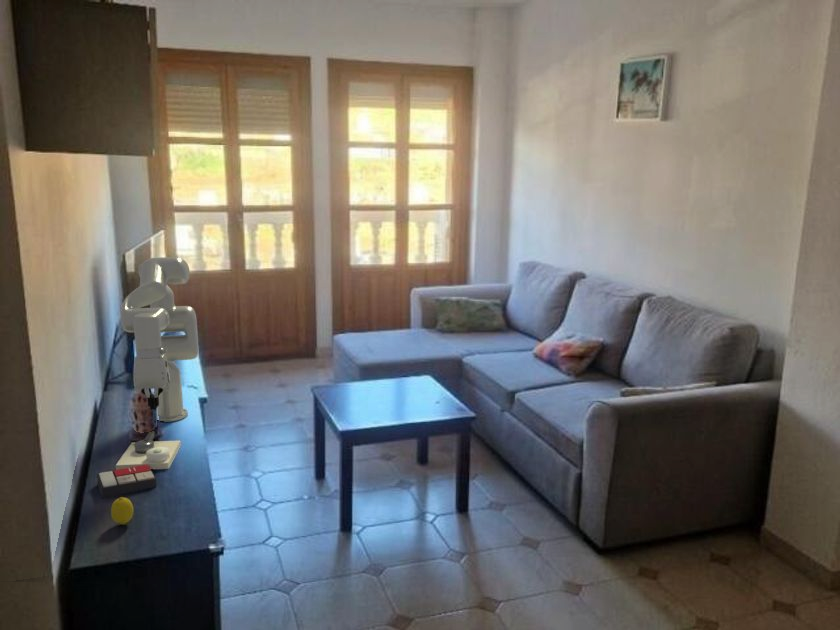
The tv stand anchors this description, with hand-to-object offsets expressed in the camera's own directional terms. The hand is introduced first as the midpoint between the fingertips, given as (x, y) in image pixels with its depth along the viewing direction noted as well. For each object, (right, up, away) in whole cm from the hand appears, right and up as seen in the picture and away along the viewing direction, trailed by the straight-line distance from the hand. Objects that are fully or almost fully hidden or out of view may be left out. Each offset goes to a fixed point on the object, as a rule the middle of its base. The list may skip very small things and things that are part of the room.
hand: (154, 408), depth 220 cm
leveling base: (-5, -18, +9) cm, 20 cm away
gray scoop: (-7, -14, +13) cm, 21 cm away
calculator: (-4, -23, -10) cm, 25 cm away
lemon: (+4, -27, -32) cm, 43 cm away
